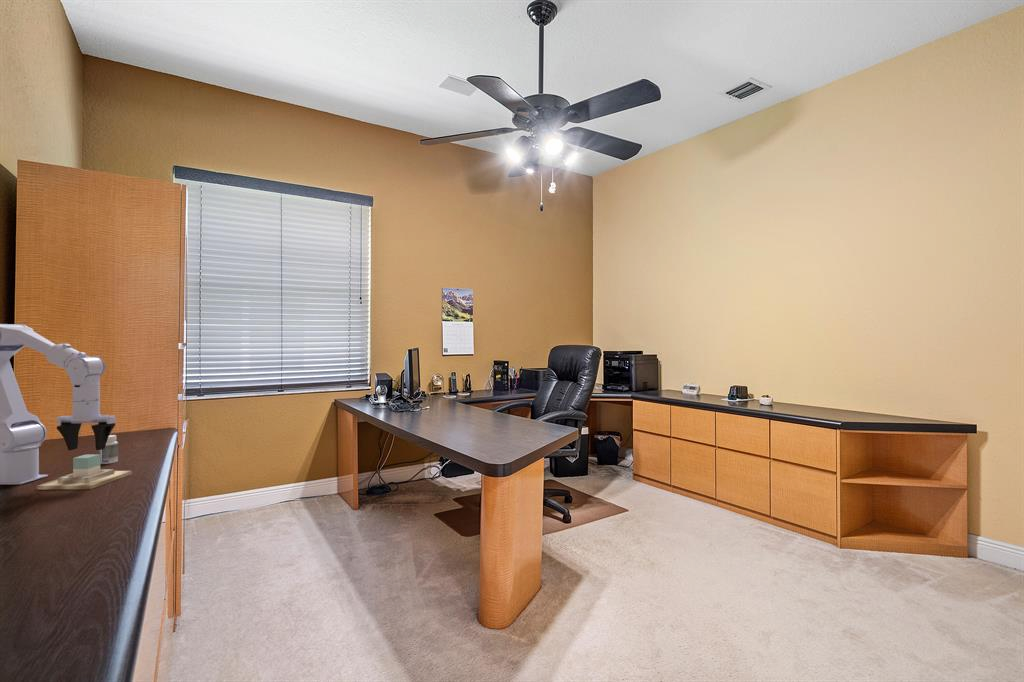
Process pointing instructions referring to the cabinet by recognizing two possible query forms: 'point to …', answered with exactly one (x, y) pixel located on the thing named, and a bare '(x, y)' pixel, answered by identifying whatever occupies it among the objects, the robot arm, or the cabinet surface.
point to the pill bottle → (109, 451)
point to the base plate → (84, 480)
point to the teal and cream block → (86, 465)
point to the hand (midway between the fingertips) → (86, 449)
